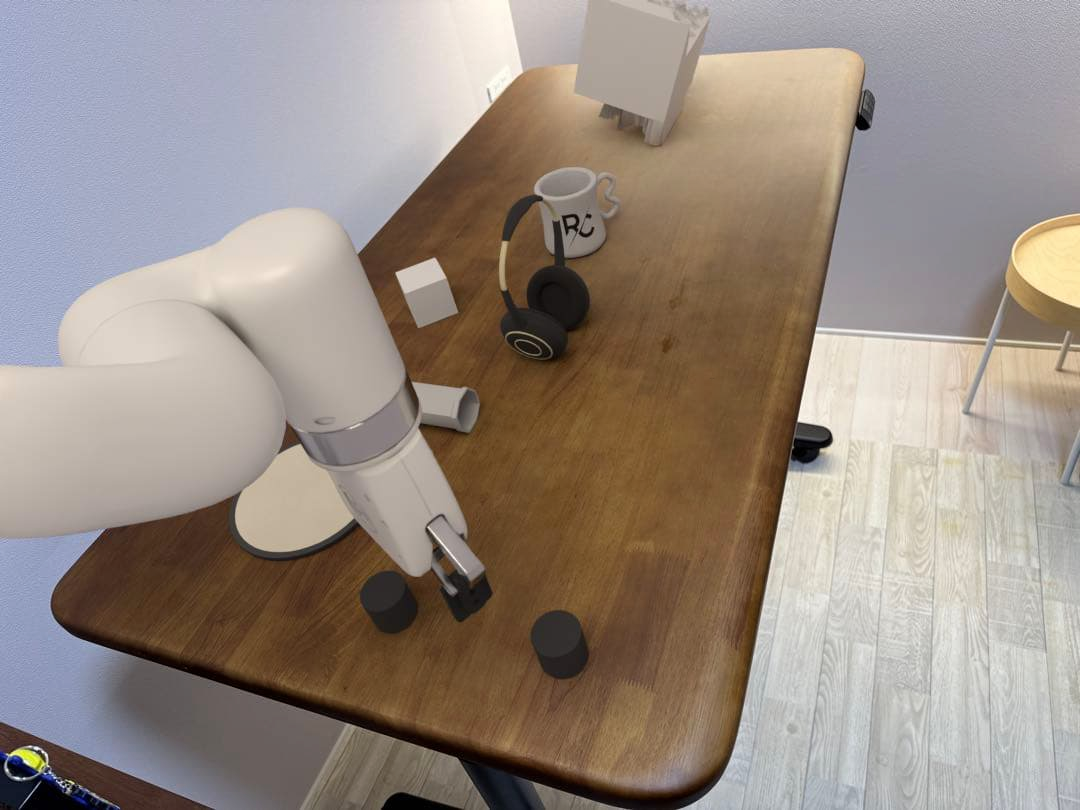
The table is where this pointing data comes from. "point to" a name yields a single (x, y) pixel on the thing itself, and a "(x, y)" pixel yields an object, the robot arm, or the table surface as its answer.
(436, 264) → the white cube
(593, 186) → the mug
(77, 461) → the robot arm
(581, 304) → the headphones
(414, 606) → the eye dot
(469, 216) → the table surface
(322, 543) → the face circle
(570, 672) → the eye dot
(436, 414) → the tube
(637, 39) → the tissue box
